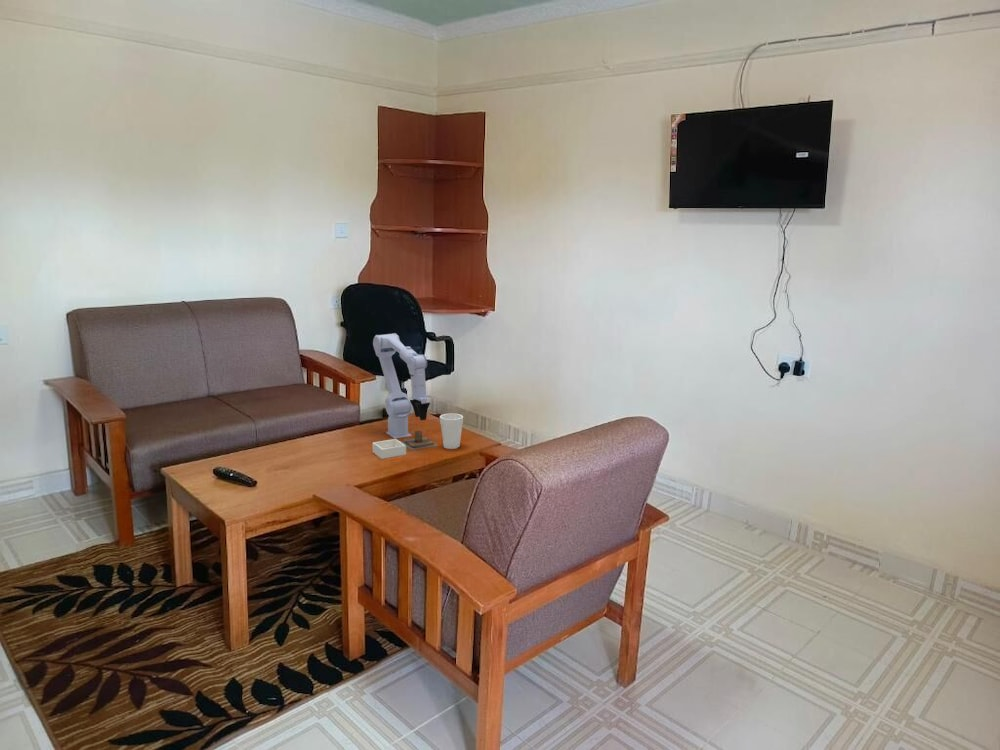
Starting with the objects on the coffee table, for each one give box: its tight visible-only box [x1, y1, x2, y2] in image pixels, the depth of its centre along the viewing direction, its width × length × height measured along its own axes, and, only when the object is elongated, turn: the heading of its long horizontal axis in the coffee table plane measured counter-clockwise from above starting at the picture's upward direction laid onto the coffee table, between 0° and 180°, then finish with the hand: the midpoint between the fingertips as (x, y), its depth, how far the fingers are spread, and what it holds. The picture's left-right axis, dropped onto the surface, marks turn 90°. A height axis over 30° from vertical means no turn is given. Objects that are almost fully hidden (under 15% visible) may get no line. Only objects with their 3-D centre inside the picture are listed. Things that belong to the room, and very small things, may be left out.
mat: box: [399, 440, 438, 451], centre depth 290 cm, size 12×12×1 cm
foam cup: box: [439, 413, 464, 450], centre depth 285 cm, size 10×9×13 cm
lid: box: [403, 430, 435, 448], centre depth 289 cm, size 10×10×5 cm
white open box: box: [372, 438, 407, 460], centre depth 277 cm, size 10×10×4 cm
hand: (420, 418), depth 285 cm, fingers open, 7 cm apart
